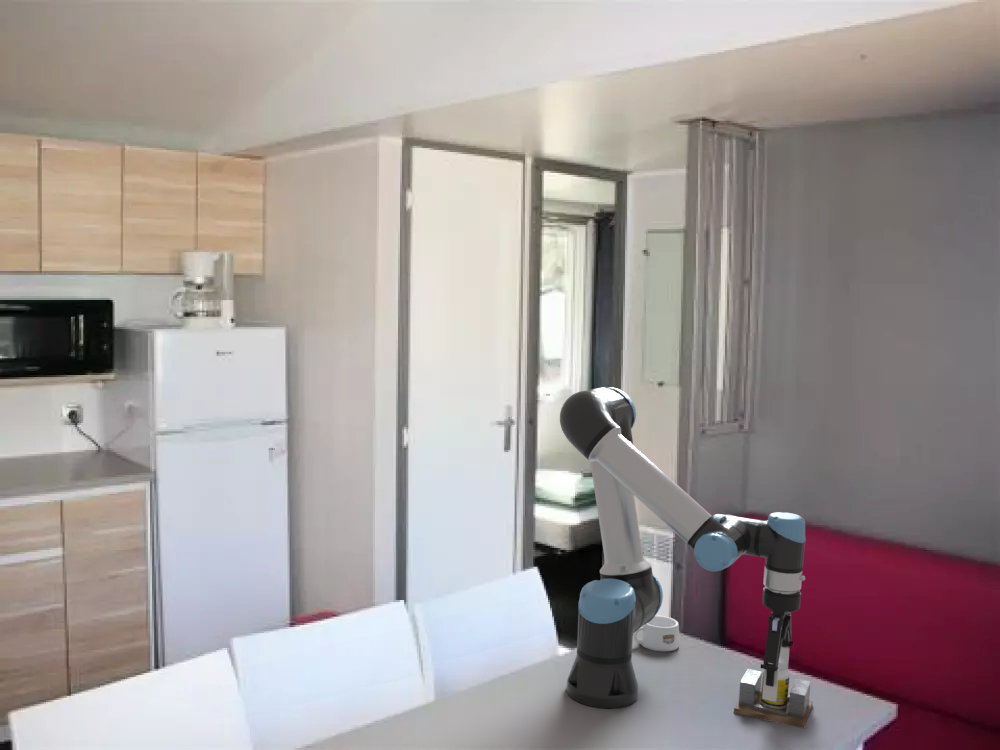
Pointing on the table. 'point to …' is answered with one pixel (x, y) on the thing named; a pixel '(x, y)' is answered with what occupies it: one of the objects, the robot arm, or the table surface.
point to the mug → (659, 634)
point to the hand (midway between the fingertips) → (775, 687)
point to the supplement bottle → (779, 687)
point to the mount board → (772, 717)
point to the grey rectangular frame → (749, 697)
